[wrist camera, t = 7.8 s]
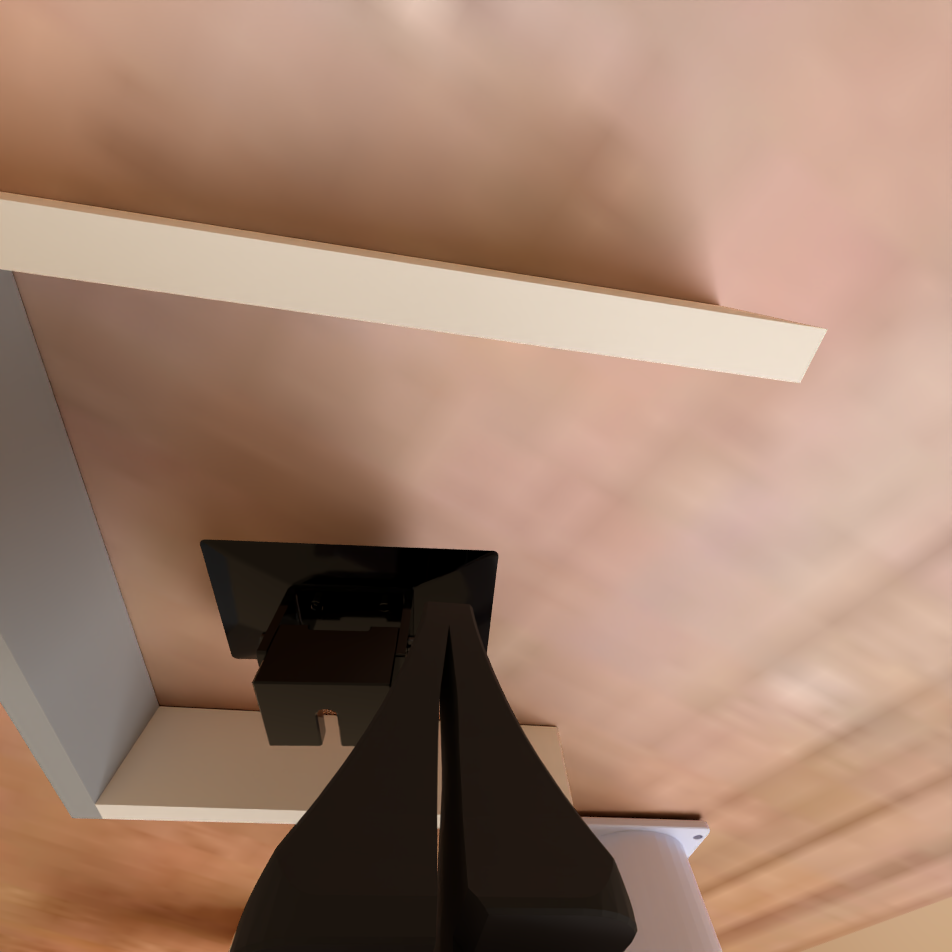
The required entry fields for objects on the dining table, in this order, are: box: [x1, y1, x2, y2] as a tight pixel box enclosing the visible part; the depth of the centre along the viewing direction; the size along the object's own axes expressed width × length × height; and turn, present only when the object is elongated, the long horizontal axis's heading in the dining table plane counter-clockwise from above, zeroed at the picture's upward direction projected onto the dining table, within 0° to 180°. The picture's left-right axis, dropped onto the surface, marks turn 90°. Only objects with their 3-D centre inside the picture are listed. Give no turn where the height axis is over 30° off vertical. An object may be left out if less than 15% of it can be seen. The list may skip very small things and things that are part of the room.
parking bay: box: [0, 191, 828, 828], centre depth 13 cm, size 19×18×4 cm
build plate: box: [200, 540, 498, 746], centre depth 14 cm, size 12×7×5 cm, turn 86°
